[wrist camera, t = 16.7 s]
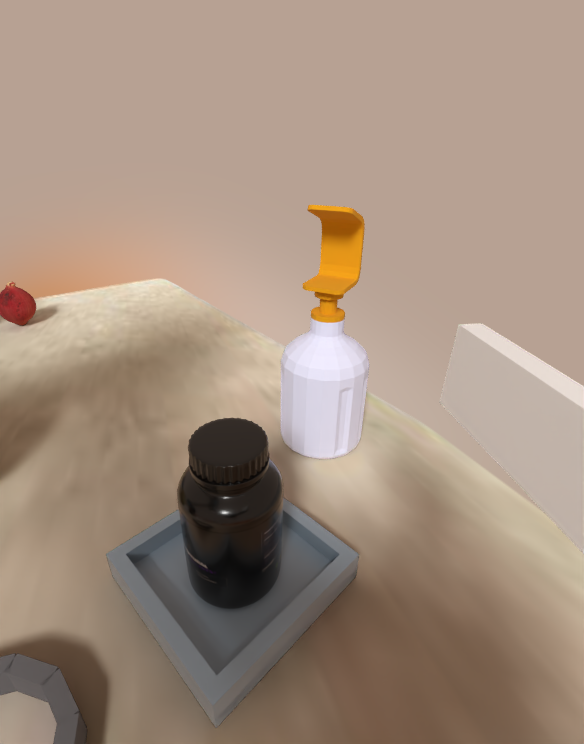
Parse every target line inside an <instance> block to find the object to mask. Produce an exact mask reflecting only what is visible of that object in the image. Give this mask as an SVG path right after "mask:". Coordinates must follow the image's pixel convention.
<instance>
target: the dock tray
mask: <svg viewBox="0 0 584 744" xmlns="http://www.w3.org/2000/svg"><path fill="white" fill-rule="evenodd" d="M106 556H107V559H108V563H109V566H110V570H111V573H112V576H113V578H114V579H115V581H116V582H117V584H118V585H119V587H120V588H121V589H122V591H123V592H124V594H125V595H126V597H127V598H128V600H129V601H130V603H131V604H132V606H133V607H134V608H135V610H136V611H137V613H138V614H139V616H140V617H141V619H142V620H143V622H144V623H145V625H146V626H147V628H148V629H149V630H150V632H151V633H152V635H153V636H154V638H155V639H156V641H157V642H158V644H159V645H160V647H161V648H162V650H163V651H164V652H165V654H166V655H167V657H168V658H169V660H170V661H171V663H172V664H173V666H174V667H175V669H176V670H177V672H178V673H179V674H180V676H181V677H182V679H183V680H184V682H185V683H186V685H187V686H188V688H189V689H190V691H191V692H192V693H193V695H194V696H195V698H196V699H197V701H198V702H199V704H200V705H201V707H202V708H203V710H204V711H205V713H206V714H207V715H208V717H209V718H210V720H211V721H212V723H213V724H214V726H215V727H216V728H217V727H218V726H219V725H220V724H221V723H222V721H223V720H224V719H225V718H226V717H227V716H228V715H229V714H230V713H231V712H232V711H233V710H234V708H235V707H236V706H237V705H238V704H239V703H240V702H241V701H242V700H243V699H244V698H245V696H246V695H247V694H248V693H249V692H250V691H251V690H252V689H253V688H254V687H255V686H256V685H257V683H258V682H259V681H260V680H261V679H262V678H263V677H264V676H265V675H266V674H267V673H268V671H269V670H270V669H271V668H272V667H273V666H274V665H275V664H276V663H277V662H278V661H279V660H280V658H281V657H282V656H283V655H284V654H285V653H286V652H287V651H288V650H289V649H290V648H291V647H292V645H293V644H294V643H295V642H296V641H297V640H298V639H299V638H300V637H301V636H302V635H303V633H304V632H305V631H306V630H307V629H308V628H309V627H310V626H311V625H312V624H313V623H314V622H315V620H316V619H317V618H318V617H319V616H320V615H321V614H322V613H323V612H324V611H325V610H326V608H327V607H328V606H329V605H330V604H331V603H332V602H333V601H334V600H335V599H336V598H337V597H338V595H339V594H340V593H341V592H342V591H343V590H344V589H345V588H346V587H347V586H348V585H349V583H350V582H351V581H352V580H353V579H354V578H355V577H356V573H357V566H358V559H359V554H358V553H357V552H355V551H354V550H353V549H351V548H350V547H349V546H347V545H346V544H345V543H343V542H342V541H341V540H339V539H338V538H337V537H335V536H334V535H333V534H331V533H330V532H329V531H328V530H326V529H325V528H324V527H322V526H321V525H320V524H318V523H317V522H316V521H314V520H313V519H312V518H310V517H309V516H308V515H306V514H305V513H304V512H302V511H301V510H300V509H298V508H297V507H296V506H294V505H293V504H292V503H290V502H289V501H288V500H286V499H285V498H284V497H283V519H282V553H281V567H280V572H279V576H278V578H277V580H276V582H275V584H274V586H273V587H272V588H271V590H270V591H269V592H268V593H267V594H266V595H265V596H264V597H263V598H261V599H260V600H258V601H257V602H255V603H253V604H251V605H249V606H246V607H242V608H237V609H224V608H219V607H216V606H213V605H211V604H209V603H207V602H205V601H204V600H203V599H201V598H200V597H199V596H198V595H197V593H196V592H195V591H194V589H193V587H192V585H191V583H190V579H189V575H188V569H187V563H186V556H185V549H184V543H183V536H182V529H181V522H180V515H179V509H178V510H176V511H175V512H173V513H171V514H170V515H168V516H167V517H165V518H163V519H162V520H160V521H159V522H157V523H155V524H154V525H152V526H150V527H149V528H147V529H146V530H144V531H142V532H141V533H139V534H138V535H136V536H134V537H133V538H131V539H129V540H128V541H126V542H125V543H123V544H121V545H120V546H118V547H116V548H115V549H113V550H112V551H110V552H108V553H107V554H106Z"/></svg>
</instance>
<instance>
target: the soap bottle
mask: <svg viewBox="0 0 584 744" xmlns="http://www.w3.org/2000/svg"><path fill="white" fill-rule="evenodd" d="M308 211H309V212H311V213H313V214H314V215H316V216H317V217H319V218H320V220H321V223H322V243H321V263H320V270H319V273H318V275H317V276H315V277H314V278H312V279H310V280H308V281H307V282H305V283H303V289H305V290H308V291H315V296H316V297H317V298H319V299H320V307H316V308H314V309H312V311H311V326H310V331H309V332H307V333H305V334H302V335H300V336H299V337H297V338H295V339H294V340H293V341H291V342H290V343H289V344H288V345H287V346H286V348H285V350H284V352H283V355H282V359H281V435H282V437H283V440H284V442H285V444H286V445H288V446H289V447H290V448H291V449H292V450H293V451H295V452H297V453H299V454H301V455H303V456H307V457H312V458H317V459H331V458H336V457H340V456H343V455H346V454H348V453H349V452H350V451H352V450H353V449H355V448H356V446H357V444H358V442H359V441H360V438H361V430H362V422H363V414H364V405H365V397H366V389H367V381H368V372H369V361H368V356H367V353H366V350H365V349H364V348H363V347H362V346H361V345H360V344H359V343H358V342H357V341H356V340H355V339H354V338H352V337H350V336H348V335H346V334H345V333H344V317H345V312H344V311H343V310H342V309H340V308H337V299H341V298H343V295H344V293H346V292H347V291H348V290H350V289H351V288H352V287H354V286H355V285H356V284H357V282H358V279H359V276H360V270H361V259H362V249H363V239H364V219H363V217H362V216H361V215H360V214H359V213H357V212H356V211H355V210H354V209H352V208H347V207H336V206H322V205H320V206H319V205H309V206H308Z"/></svg>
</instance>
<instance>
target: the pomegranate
mask: <svg viewBox="0 0 584 744" xmlns="http://www.w3.org/2000/svg"><path fill="white" fill-rule="evenodd" d="M35 311H36V303H35V301H34V299H33V297H32V296H31V295H30V294H29V293H27V292H26V291H24V290H23V289H20V288H18V287H16V286H15V283H14V282H8V284H7V285H6V288H5V289H4V290H3V291H2V292H1V293H0V315H1V316H2V317H3V318H4V319H6V320H7V321H9V322H12V323H15V324H18V325H25V324H27V322H28V321H29V320H30V319H31V318H32V317H33V315H34V314H35Z"/></svg>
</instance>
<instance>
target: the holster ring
mask: <svg viewBox="0 0 584 744" xmlns="http://www.w3.org/2000/svg"><path fill="white" fill-rule="evenodd" d="M14 691H18V692H21V693H24V694H27V695H30V696H32V697H35V698H38V699H41V700H43V701H46V702H49V705H50V707H51V710H52V712H53V714H54V717H55V719H56V722H57V727H56V732H55V738H54V743H53V744H86V737H87V729H86V728H87V726H86V724H85V722H84V720H83V718H82V716H81V713H80V711H79V709H78V707H77V705H76V703H75V700H74V698H73V696H72V694H71V692H70V689H69V687H68V685H67V683H66V681H65V679H64V677H63V675H62V672H61V670H60V668H58V667H57V666H54V665H51V664H48V663H45V662H42V661H39V660H36V659H33V658H30V657H27V656H24V655H21V654H17V655H16V654H11V655H7V656H3V657H0V695H3V694H7V693H11V692H14Z"/></svg>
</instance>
